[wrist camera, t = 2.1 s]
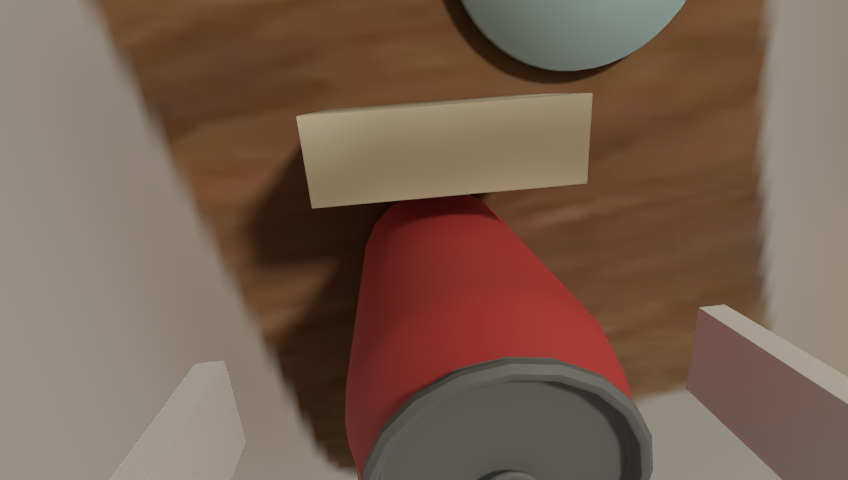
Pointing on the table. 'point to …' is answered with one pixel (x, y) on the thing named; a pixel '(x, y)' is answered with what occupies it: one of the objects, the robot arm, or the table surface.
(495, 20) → the coaster
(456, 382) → the beer can
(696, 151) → the table surface
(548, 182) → the block
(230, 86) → the table surface
